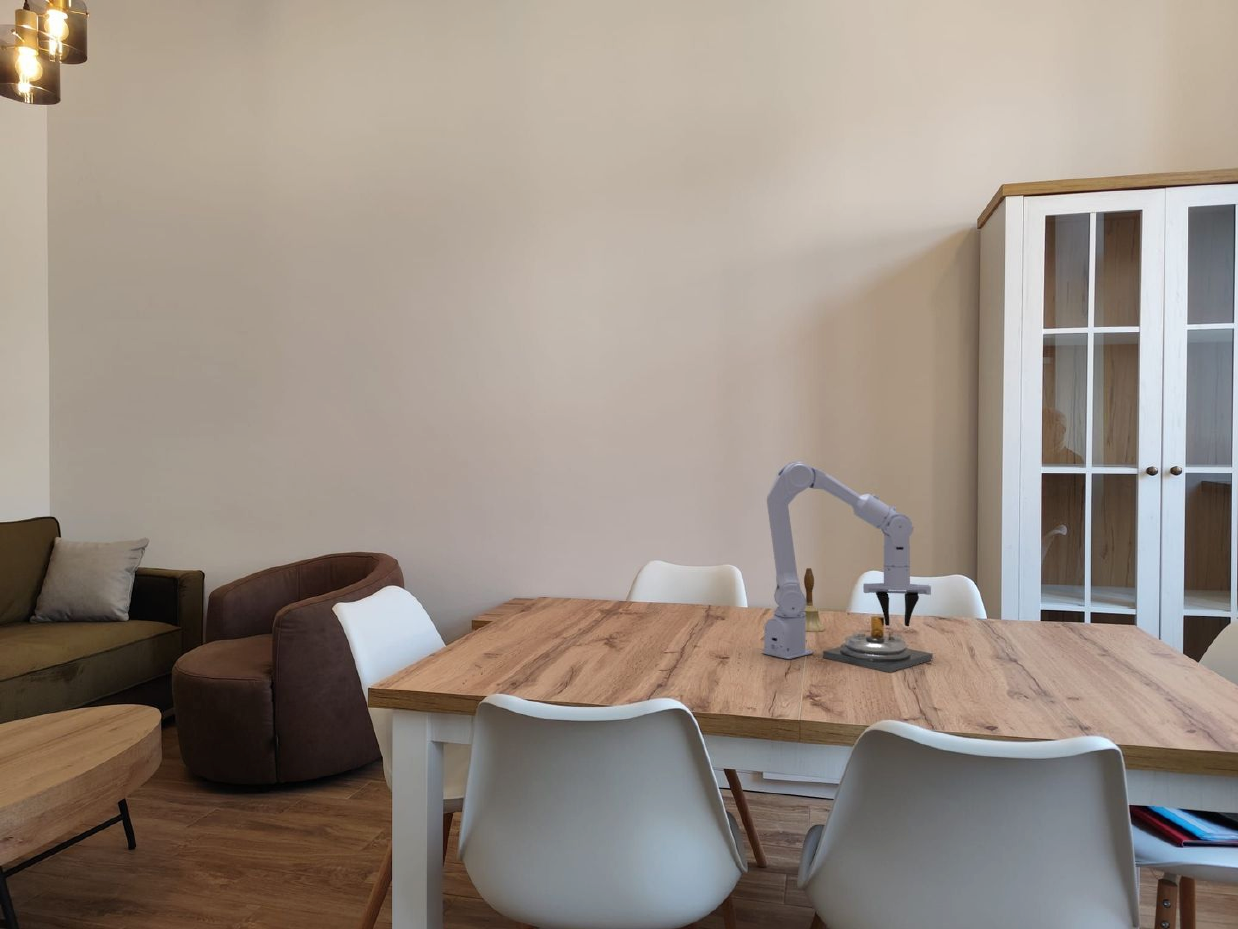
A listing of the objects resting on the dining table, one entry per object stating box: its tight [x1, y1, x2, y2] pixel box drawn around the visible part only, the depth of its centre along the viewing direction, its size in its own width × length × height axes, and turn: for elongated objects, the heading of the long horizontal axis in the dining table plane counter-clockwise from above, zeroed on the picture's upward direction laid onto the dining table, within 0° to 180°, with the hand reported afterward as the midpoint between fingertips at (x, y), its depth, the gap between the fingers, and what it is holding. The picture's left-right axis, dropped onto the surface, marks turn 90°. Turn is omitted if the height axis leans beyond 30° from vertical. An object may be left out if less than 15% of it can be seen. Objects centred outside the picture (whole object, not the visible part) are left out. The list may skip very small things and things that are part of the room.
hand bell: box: [803, 567, 826, 633], centre depth 223 cm, size 8×8×16 cm
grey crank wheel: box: [844, 615, 907, 654], centre depth 189 cm, size 13×13×6 cm
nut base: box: [822, 642, 933, 674], centre depth 190 cm, size 17×17×3 cm
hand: (896, 625), depth 193 cm, fingers open, 4 cm apart
